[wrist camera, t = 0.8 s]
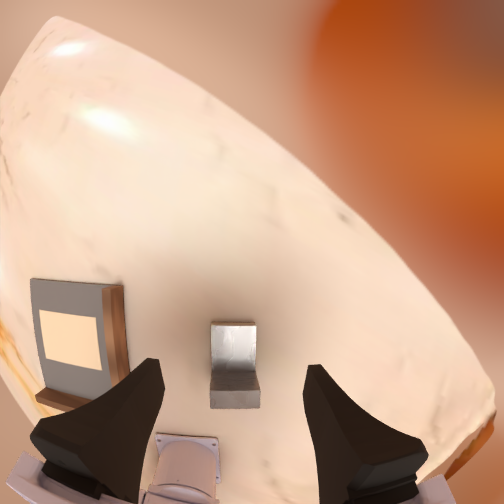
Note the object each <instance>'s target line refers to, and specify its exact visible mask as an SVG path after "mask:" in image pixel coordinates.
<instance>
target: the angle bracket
mask: <svg viewBox="0 0 504 504" xmlns="http://www.w3.org/2000/svg"><path fill="white" fill-rule="evenodd" d="M211 355H212V374H211V383H210V408H212V409H251V408H260V387H259V383H258V379H257V375H256V371H255V365H256V324H255V322H212V323H211Z"/></svg>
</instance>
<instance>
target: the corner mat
mask: <svg viewBox="0 0 504 504" xmlns="http://www.w3.org/2000/svg"><path fill="white" fill-rule="evenodd" d="M110 286H120V285H104V284H89V283H76V282H63V281H52V280H41V279H30V289H31V303H32V314H33V322H34V330H35V337H36V343H37V349H38V354H39V359H40V364H41V369H42V373H43V377H44V381H45V385H46V387H47V388H51V389H54V390H57V391H60V392H64V393H67V394H71V395H75V396H78V397H82V398H86V399H91V400H94V399H96V398H98V397H99V396H101V395H103V394H104V393H106V392H107V391H108V390H110V389H111V388H112V383H111V377H110V371H109V365H108V358H107V350H106V342H105V332H104V321H103V307H102V288H106V287H110Z"/></svg>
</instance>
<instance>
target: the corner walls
mask: <svg viewBox="0 0 504 504" xmlns="http://www.w3.org/2000/svg"><path fill="white" fill-rule="evenodd" d="M102 307H103V321H104V332H105V342H106V350H107V358H108V365H109V371H110V377H111V383H112V387H114V386H115V385H116V384H118V383H119V382H120V381H121V380H123V379H124V378H125V377H126V376H127V375H129V374H130V371H129V363H128V355H127V346H126V335H125V322H124V305H123V286H110V287H106V288H102ZM35 397H36V400H37V402H39V403H42V404H44V405H47V406H50V407H53V408H56V409H59V410H62V411H65V412H68V411H71V410H74V409H76V408H78V407H80V406H82V405H85V404H87V403H89V402H91V401H93V400H91V399H86V398H82V397H78V396H75V395H71V394H67V393H64V392H60V391H57V390H54V389H51V388H47V387H45V388H44V389H43V390H41V391H40V392H39V393H38V394H36V395H35Z"/></svg>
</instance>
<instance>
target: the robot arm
mask: <svg viewBox="0 0 504 504" xmlns="http://www.w3.org/2000/svg"><path fill="white" fill-rule="evenodd" d="M164 391H165V386H164V381H163V377H162V373H161V368H160V363H159V359H152V358H147V359H146V360H144V361H143V362H142V363H141V364H140V365H139V366H138V367H136V368H135V369H134V370H133V371H132V372H131V373H130V374H129V375H127V376H126V377H125V378H124V379H123V380H121V381H120V382H119V383H118V384H116V385H115V386H114V387H112V388H111V389H110V390H108V391H107V392H106V393H104V394H103V395H101V396H99V397H98V398H96V399H94V400H93V401H91V402H89V403H87V404H85V405H82V406H80V407H78V408H76V409H74V410H71V411H68V412H65V413H62V414H59V415H55V416H51V417H47V418H42V419H40V421H39V422H38V424H37V425H36V427H35V428H34V430H33V431H32V433H31V434H30V439H31V441H32V443H33V444H34V446H35V447H36V448H37V449H38V450H39V451H40V453H41V454H42V455H43V456H44V457H45V458H46V462H45V464H44V463H43V462H42V461H40V460H39V459H37V458H35V457H34V456H32V455H30V454H29V453H27V452H25V451H23V452H22V454H21V456H20V457H19V459H18V461H17V462H16V464H15V466H14V468H13V469H12V471H11V473H10V475H9V477H8V478H7V480H6V484H7V485H8V486H10V487H11V488H12V489H13V490H14V491H15V492H17V493H18V494H19V495H20V496H22V497H23V498H24V499H26V500H27V501H28V502H30V503H31V504H220V500H218V499H215V490H216V484H218V483H221V475H220V462H219V448H218V439H217V438H208V437H189V436H177V435H167V434H156V435H155V440H156V445H157V449H158V453H159V458H160V459H159V462H158V465H157V469H156V472H155V475H154V479H153V482H152V484H150V485H149V488H148V492H147V493H146V490H143V489H141V490H140V491H139V489H140V481H141V473H142V467H143V462H144V457H145V452H146V447H147V444H148V440H149V437H150V434H151V432H152V429H153V426H154V424H155V421H156V418H157V416H158V413H159V410H160V408H161V405H162V401H163V396H164ZM303 401H304V409H305V414H306V418H307V422H308V426H309V430H310V433H311V437H312V441H313V445H314V450H315V456H316V464H317V473H318V484H319V500H320V504H456V502H455V500H454V497H453V495H452V493H451V491H450V489H449V487H448V484H447V482H446V480H445V478H444V476H443V474H439V475H437V476H435V477H433V478H430V479H428V480H426V481H424V482H422V483H420V484H418V485H416V483H415V481H416V480H417V476H416V471H417V470H418V469H419V468H420V467H421V466H422V465H423V464H424V463H425V461H426V460H427V458H428V452H427V450H426V448H425V446H424V444H423V443H422V441H421V440H420V439H418V438H415V437H412V436H410V435H407V434H404V433H402V432H400V431H397V430H395V429H393V428H391V427H389V426H387V425H386V424H384V423H382V422H381V421H379V420H377V419H376V418H374V417H373V416H371V415H370V414H369V413H367V412H366V411H365V410H363V409H362V408H361V407H360V406H358V405H357V404H356V403H355V402H354V401H353V400H352V399H351V398H350V397H349V396H348V395H347V394H346V393H345V392H344V391H343V390H342V389H341V388H340V387H339V386H338V384H337V383H336V382H335V381H334V380H333V379H332V377H331V376H330V375H329V374H328V373H327V371H326V370H325V369H324V368H323V366H322V365H321V364H318V365H308V369H307V374H306V380H305V385H304V390H303ZM158 439H160V440H158ZM213 443H215V444H213Z"/></svg>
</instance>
